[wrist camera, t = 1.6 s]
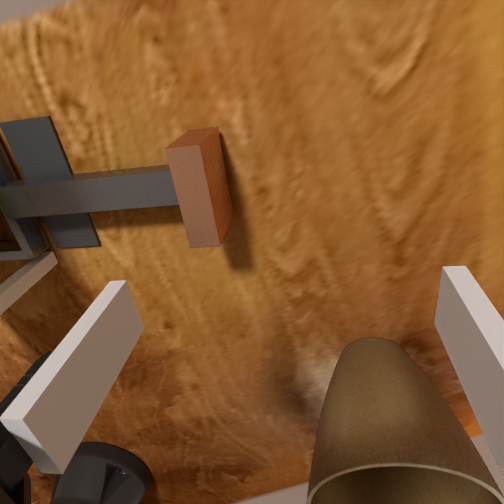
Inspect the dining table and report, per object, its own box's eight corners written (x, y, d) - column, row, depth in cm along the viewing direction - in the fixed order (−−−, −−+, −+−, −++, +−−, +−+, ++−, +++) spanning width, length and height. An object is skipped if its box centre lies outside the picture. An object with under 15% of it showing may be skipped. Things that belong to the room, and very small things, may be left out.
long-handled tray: (237, 234, 35) (225, 270, 29) (-46, 252, 41) (-100, 285, 35) (213, 97, 29) (191, 110, 23) (-117, 142, 35) (-195, 160, 29)
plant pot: (304, 311, 39) (303, 457, 25) (450, 311, 36) (537, 472, 23) (307, 400, 46) (309, 550, 33) (430, 405, 44) (486, 569, 30)
